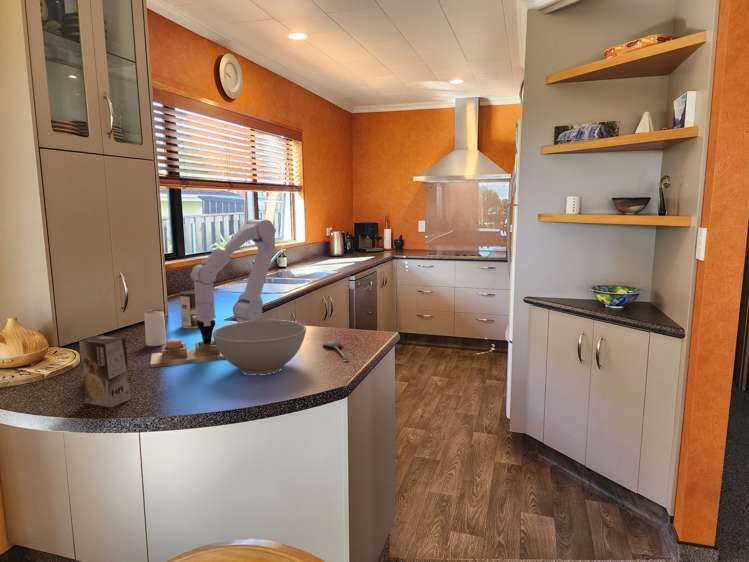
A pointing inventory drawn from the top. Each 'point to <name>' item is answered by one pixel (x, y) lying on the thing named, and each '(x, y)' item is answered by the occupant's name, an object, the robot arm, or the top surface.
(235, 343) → the decorative bowl
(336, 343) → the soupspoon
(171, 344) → the orange block
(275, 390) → the top surface
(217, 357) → the console
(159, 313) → the can
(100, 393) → the coffee box
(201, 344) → the grey plunger
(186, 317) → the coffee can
